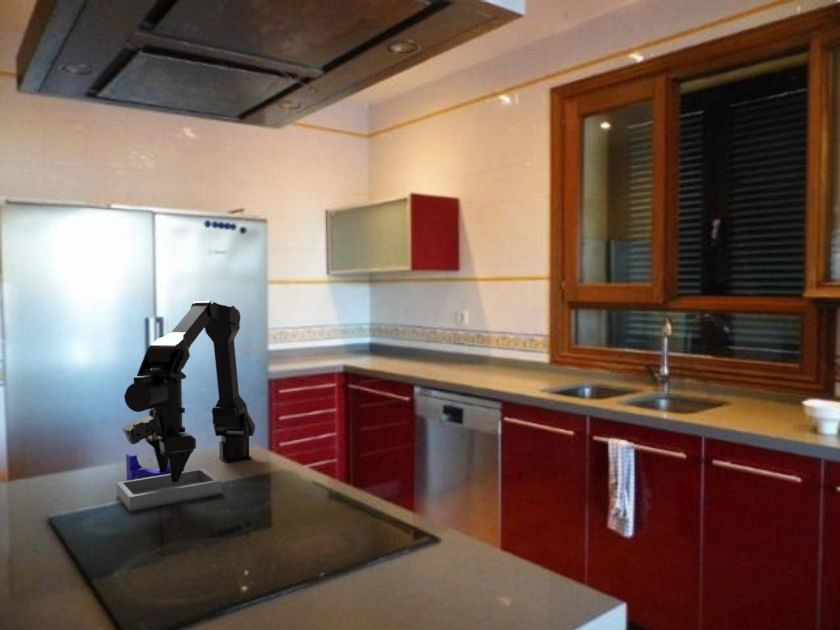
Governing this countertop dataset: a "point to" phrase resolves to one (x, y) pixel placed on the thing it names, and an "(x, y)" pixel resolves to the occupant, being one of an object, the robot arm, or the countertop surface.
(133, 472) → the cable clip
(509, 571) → the countertop surface
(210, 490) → the parts tray
